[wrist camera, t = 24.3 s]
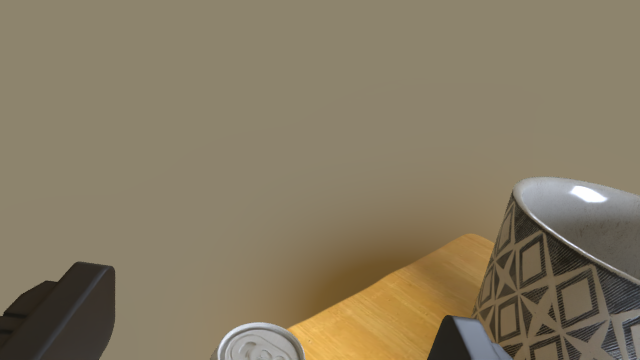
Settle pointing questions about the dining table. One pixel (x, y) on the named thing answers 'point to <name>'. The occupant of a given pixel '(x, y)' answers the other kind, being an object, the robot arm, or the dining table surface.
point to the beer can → (259, 344)
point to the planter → (565, 273)
